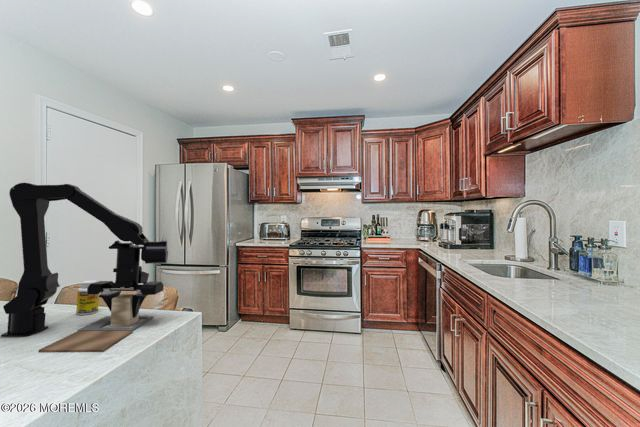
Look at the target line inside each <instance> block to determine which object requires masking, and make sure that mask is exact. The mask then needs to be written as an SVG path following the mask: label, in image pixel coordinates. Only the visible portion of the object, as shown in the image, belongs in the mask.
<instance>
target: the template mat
mask: <svg viewBox="0 0 640 427" xmlns="http://www.w3.org/2000/svg"><path fill="white" fill-rule="evenodd" d="M152 319H154V316H151V315H150V316H148V315H144V316H143V315H140V316H139V317H138V320H142V321H141V322H139V323H137V324H136V325H134V326H132V327H106V326H107V325H111V315H110V316H109V315H106V316H104V317H102V318H100V319H98V320H95V321H94V322H91V323H90V324H87V325H86V326H83V327H81V328H79V329H77V331H133V332H134V331H136V330H137V329H139V328H141V327H143V326H144V325H145V324H147V323H148V322H150V321H151V320H152Z"/></svg>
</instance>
